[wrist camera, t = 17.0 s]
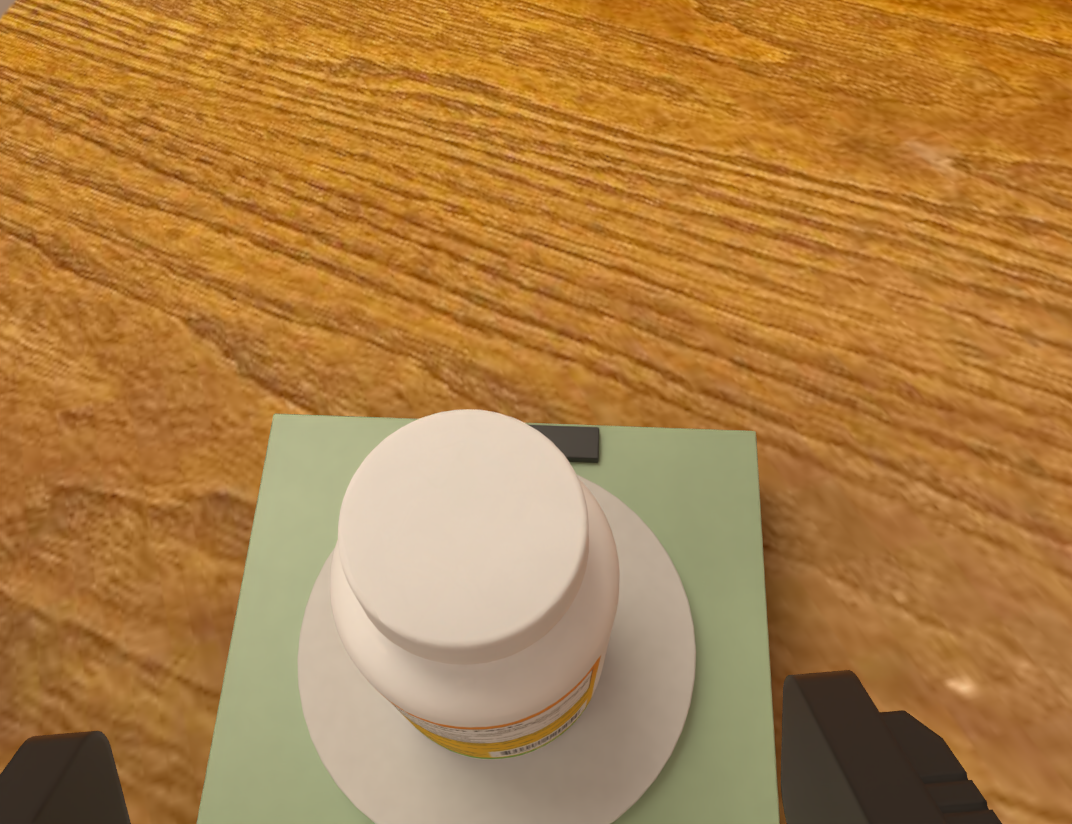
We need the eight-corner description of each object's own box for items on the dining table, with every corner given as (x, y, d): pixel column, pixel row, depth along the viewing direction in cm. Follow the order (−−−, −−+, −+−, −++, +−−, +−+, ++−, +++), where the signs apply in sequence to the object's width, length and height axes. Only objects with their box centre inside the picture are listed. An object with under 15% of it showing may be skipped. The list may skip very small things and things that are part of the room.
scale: (219, 912, 24) (164, 920, 21) (298, 453, 30) (265, 400, 26) (761, 942, 24) (796, 955, 20) (737, 470, 29) (761, 418, 26)
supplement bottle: (441, 516, 25) (382, 327, 16) (632, 588, 24) (679, 430, 15) (350, 711, 23) (225, 615, 14) (556, 799, 22) (560, 757, 13)
